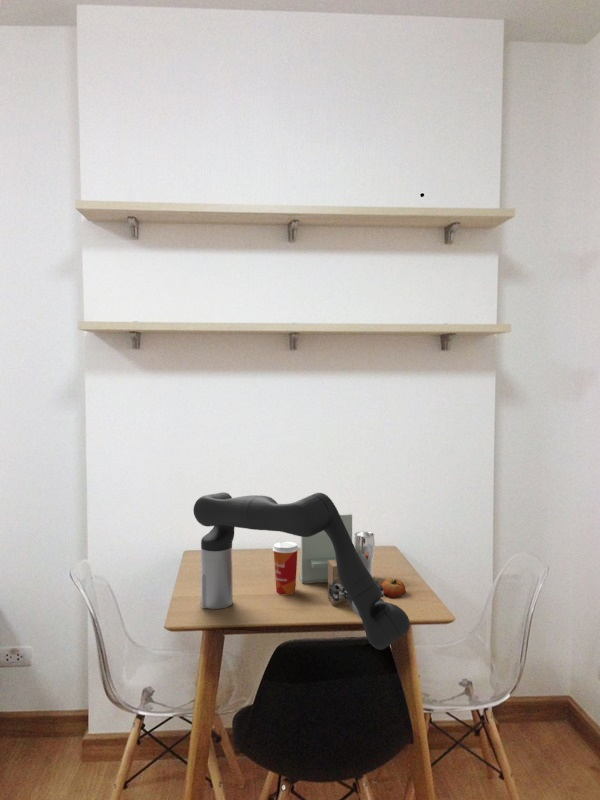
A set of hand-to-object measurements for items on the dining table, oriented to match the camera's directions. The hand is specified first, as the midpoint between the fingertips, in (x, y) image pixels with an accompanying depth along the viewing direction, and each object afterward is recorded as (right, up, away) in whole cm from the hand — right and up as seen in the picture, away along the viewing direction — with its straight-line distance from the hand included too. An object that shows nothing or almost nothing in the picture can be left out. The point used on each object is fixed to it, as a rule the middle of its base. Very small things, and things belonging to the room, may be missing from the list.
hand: (349, 582), depth 179 cm
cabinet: (-2, -9, +12) cm, 15 cm away
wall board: (-5, -8, +29) cm, 31 cm away
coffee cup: (-18, -9, +21) cm, 29 cm away
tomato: (+15, -9, +18) cm, 26 cm away
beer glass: (+8, -8, +33) cm, 35 cm away
